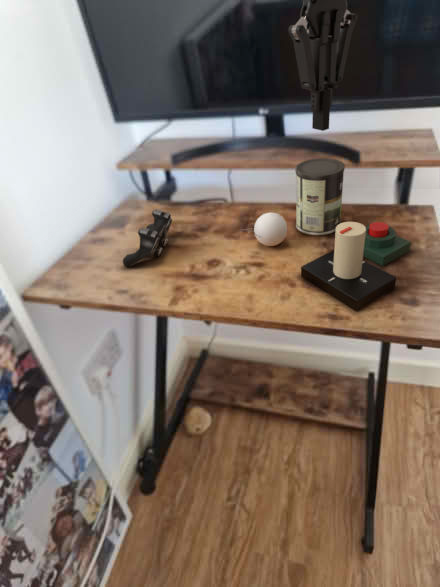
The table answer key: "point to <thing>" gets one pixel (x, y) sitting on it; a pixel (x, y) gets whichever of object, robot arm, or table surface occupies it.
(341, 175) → the coffee can
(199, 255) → the table surface
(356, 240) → the dial
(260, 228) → the white sphere
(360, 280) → the panel
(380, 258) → the button box
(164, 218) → the game controller
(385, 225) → the red button
